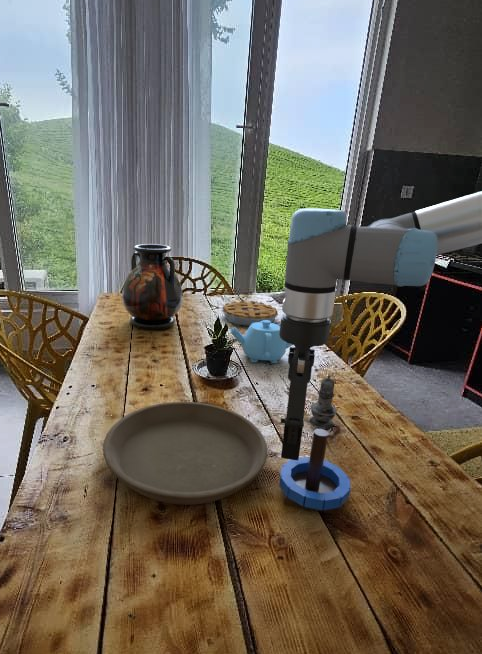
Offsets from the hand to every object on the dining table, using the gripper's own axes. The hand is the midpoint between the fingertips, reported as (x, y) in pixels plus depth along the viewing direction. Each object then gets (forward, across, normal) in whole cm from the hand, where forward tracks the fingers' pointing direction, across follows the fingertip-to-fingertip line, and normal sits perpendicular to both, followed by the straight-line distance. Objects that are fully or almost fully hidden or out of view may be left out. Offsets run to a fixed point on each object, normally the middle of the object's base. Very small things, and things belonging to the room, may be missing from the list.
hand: (291, 435), depth 75 cm
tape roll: (+10, 0, +5) cm, 11 cm away
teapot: (+11, -61, -12) cm, 63 cm away
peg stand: (+11, 0, +4) cm, 12 cm away
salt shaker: (+11, -26, +6) cm, 29 cm away
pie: (+11, -100, -21) cm, 103 cm away
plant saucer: (+11, -3, -20) cm, 23 cm away
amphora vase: (+10, -80, -54) cm, 97 cm away
